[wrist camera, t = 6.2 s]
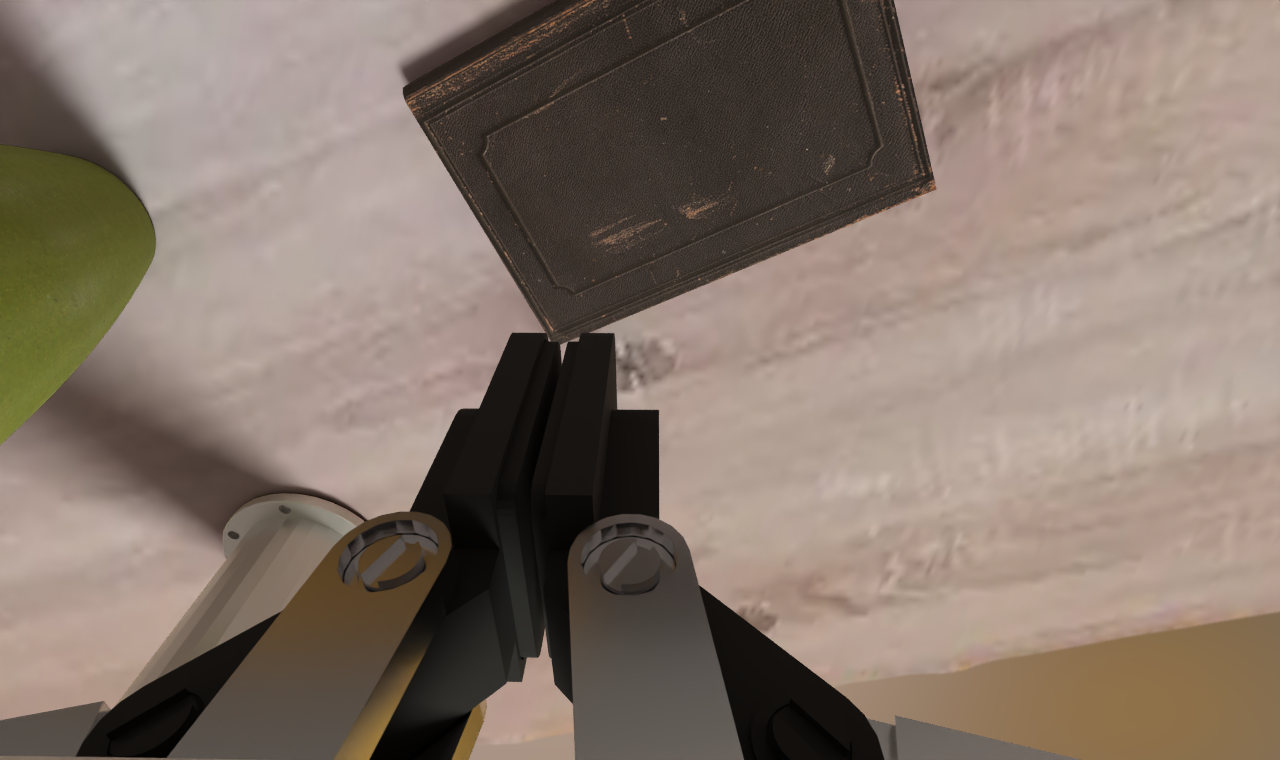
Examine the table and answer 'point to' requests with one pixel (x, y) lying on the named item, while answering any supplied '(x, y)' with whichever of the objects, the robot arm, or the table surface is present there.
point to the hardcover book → (672, 142)
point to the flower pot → (60, 270)
